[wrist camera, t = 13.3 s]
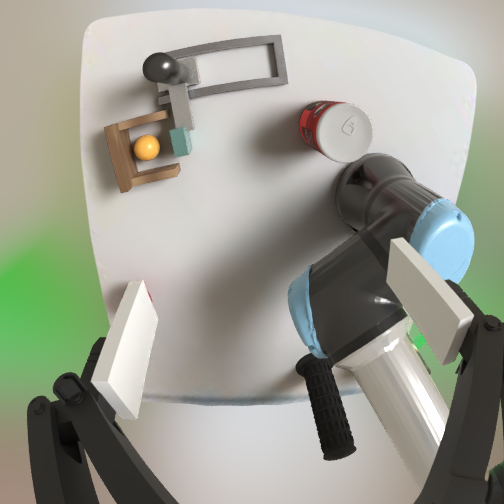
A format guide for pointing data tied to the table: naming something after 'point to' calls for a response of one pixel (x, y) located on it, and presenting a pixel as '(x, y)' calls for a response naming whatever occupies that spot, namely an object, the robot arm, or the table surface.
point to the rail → (236, 43)
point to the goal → (125, 157)
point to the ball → (146, 147)
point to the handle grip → (326, 407)
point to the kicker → (175, 93)
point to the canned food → (337, 130)
